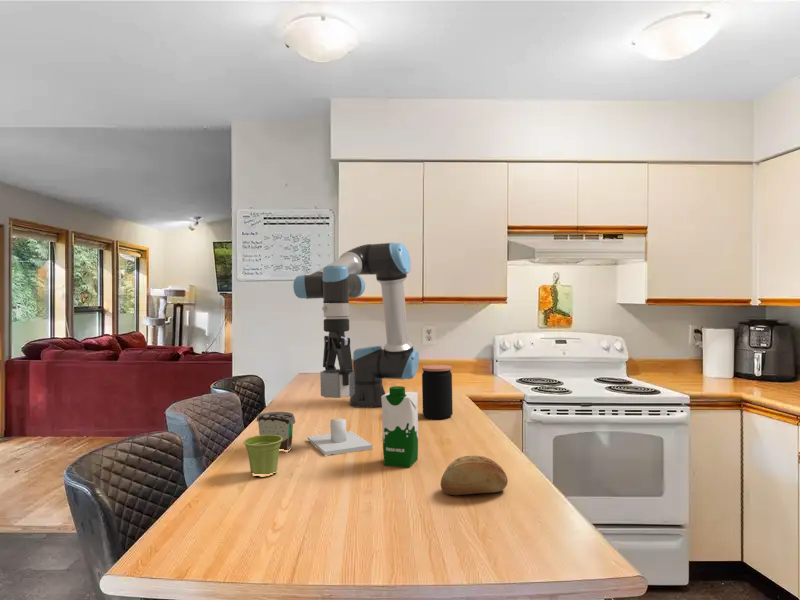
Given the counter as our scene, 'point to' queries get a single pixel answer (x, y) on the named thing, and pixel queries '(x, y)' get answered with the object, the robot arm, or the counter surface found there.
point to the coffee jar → (437, 392)
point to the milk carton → (400, 427)
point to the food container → (277, 426)
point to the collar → (334, 383)
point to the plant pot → (263, 453)
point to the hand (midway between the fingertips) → (337, 394)
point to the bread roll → (473, 476)
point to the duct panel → (339, 440)
